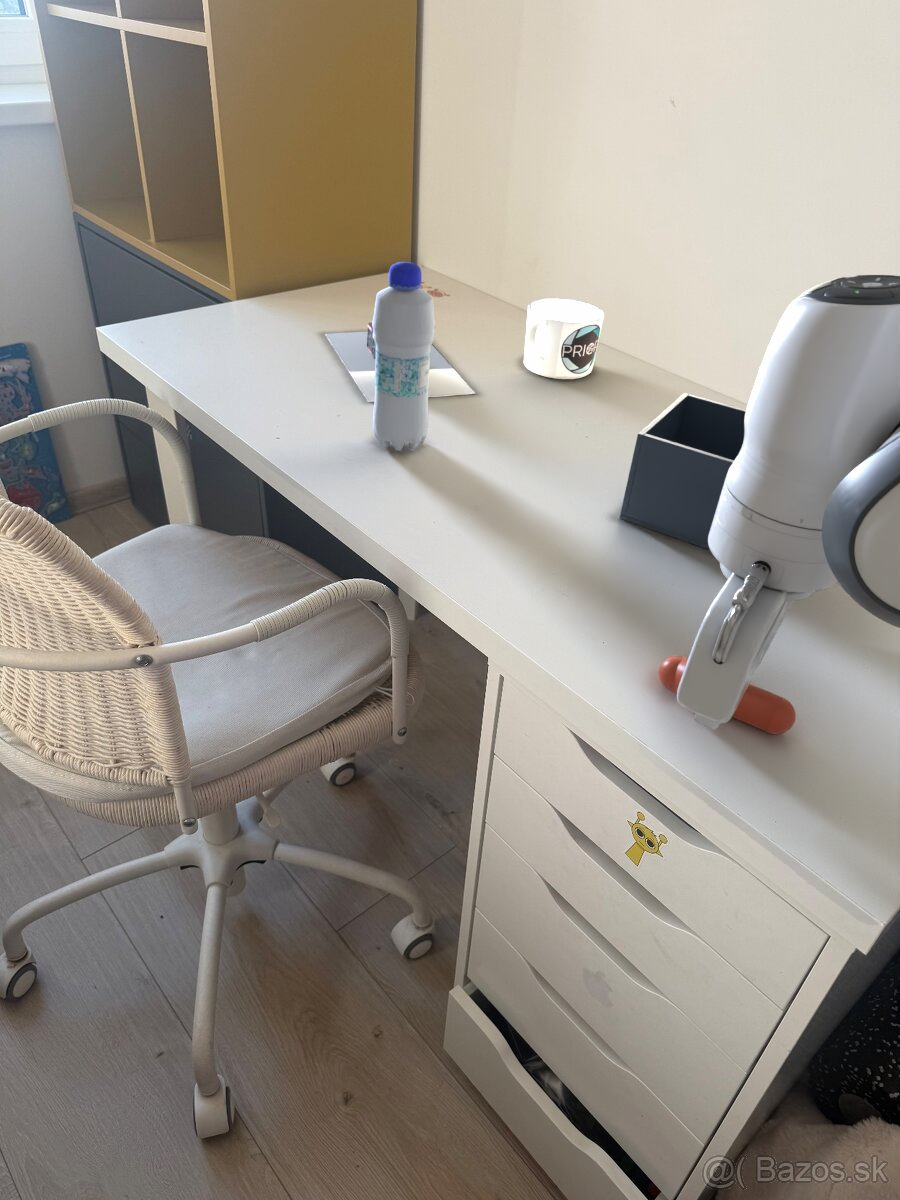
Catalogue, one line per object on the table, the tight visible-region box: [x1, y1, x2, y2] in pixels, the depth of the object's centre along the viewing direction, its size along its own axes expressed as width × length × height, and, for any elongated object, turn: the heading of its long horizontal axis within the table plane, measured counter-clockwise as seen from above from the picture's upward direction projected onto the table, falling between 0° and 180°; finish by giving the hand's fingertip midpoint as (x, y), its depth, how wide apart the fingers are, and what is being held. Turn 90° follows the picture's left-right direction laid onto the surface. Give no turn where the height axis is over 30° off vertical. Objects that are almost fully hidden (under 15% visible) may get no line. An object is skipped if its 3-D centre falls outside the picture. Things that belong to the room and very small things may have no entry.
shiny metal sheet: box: [324, 321, 476, 403], centre depth 115 cm, size 14×25×4 cm, turn 19°
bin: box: [619, 392, 746, 551], centre depth 84 cm, size 13×13×10 cm
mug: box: [523, 297, 605, 380], centre depth 115 cm, size 13×10×8 cm
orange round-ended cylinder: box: [658, 654, 797, 735], centre depth 63 cm, size 10×3×3 cm, turn 57°
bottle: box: [371, 261, 436, 452], centre depth 90 cm, size 7×7×20 cm
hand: (725, 688), depth 62 cm, fingers open, 7 cm apart
